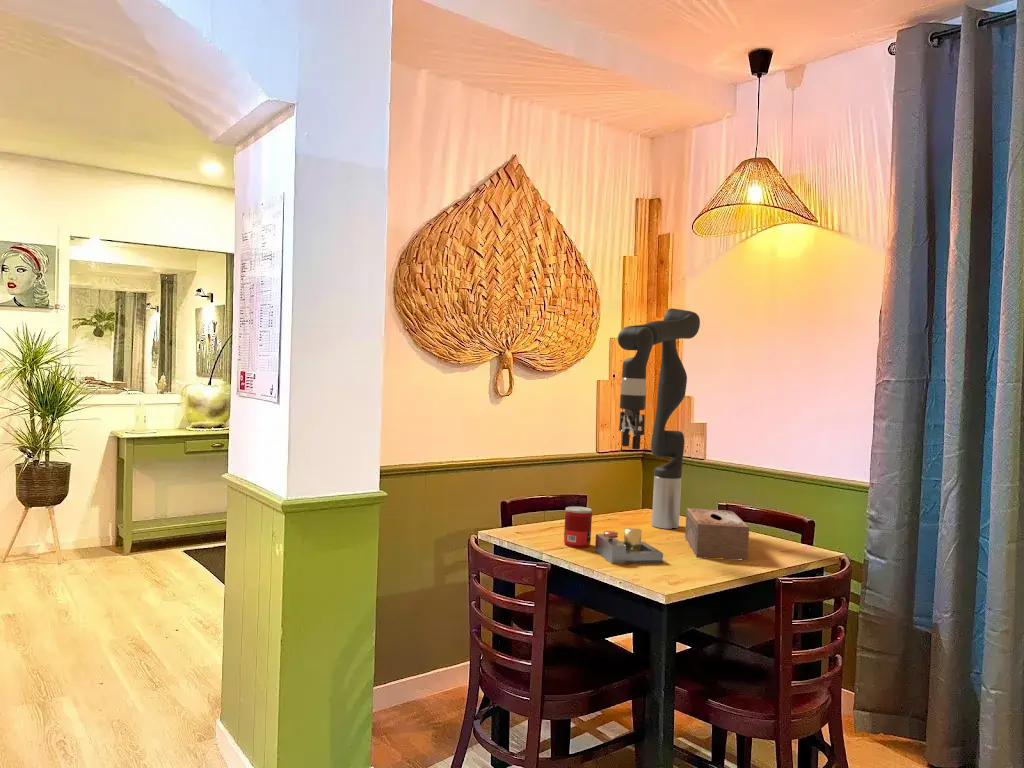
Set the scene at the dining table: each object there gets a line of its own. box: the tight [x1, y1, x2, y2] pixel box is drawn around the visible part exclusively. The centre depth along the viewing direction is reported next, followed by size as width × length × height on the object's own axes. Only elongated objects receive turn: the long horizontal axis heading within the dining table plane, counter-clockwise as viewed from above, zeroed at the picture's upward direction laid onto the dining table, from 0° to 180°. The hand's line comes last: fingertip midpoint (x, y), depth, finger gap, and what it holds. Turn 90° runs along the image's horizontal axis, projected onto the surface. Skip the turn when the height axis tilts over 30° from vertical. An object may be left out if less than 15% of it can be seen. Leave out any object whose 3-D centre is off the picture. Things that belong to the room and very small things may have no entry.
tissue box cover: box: [684, 507, 750, 561], centre depth 233 cm, size 26×14×10 cm, turn 174°
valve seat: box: [594, 530, 664, 565], centre depth 218 cm, size 14×15×7 cm
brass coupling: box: [623, 527, 642, 552], centre depth 218 cm, size 5×5×7 cm
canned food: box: [563, 506, 593, 549], centre depth 230 cm, size 8×8×11 cm
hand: (630, 447), depth 229 cm, fingers open, 8 cm apart
